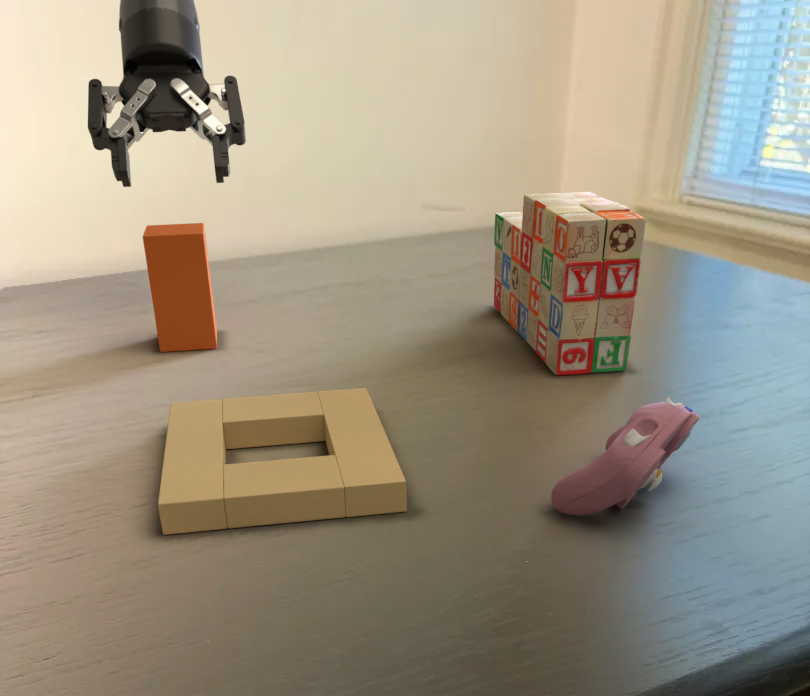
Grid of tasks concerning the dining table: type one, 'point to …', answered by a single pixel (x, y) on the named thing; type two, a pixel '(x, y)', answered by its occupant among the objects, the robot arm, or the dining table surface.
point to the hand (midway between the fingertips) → (172, 179)
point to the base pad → (276, 462)
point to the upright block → (180, 286)
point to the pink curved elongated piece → (627, 460)
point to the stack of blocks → (570, 278)
